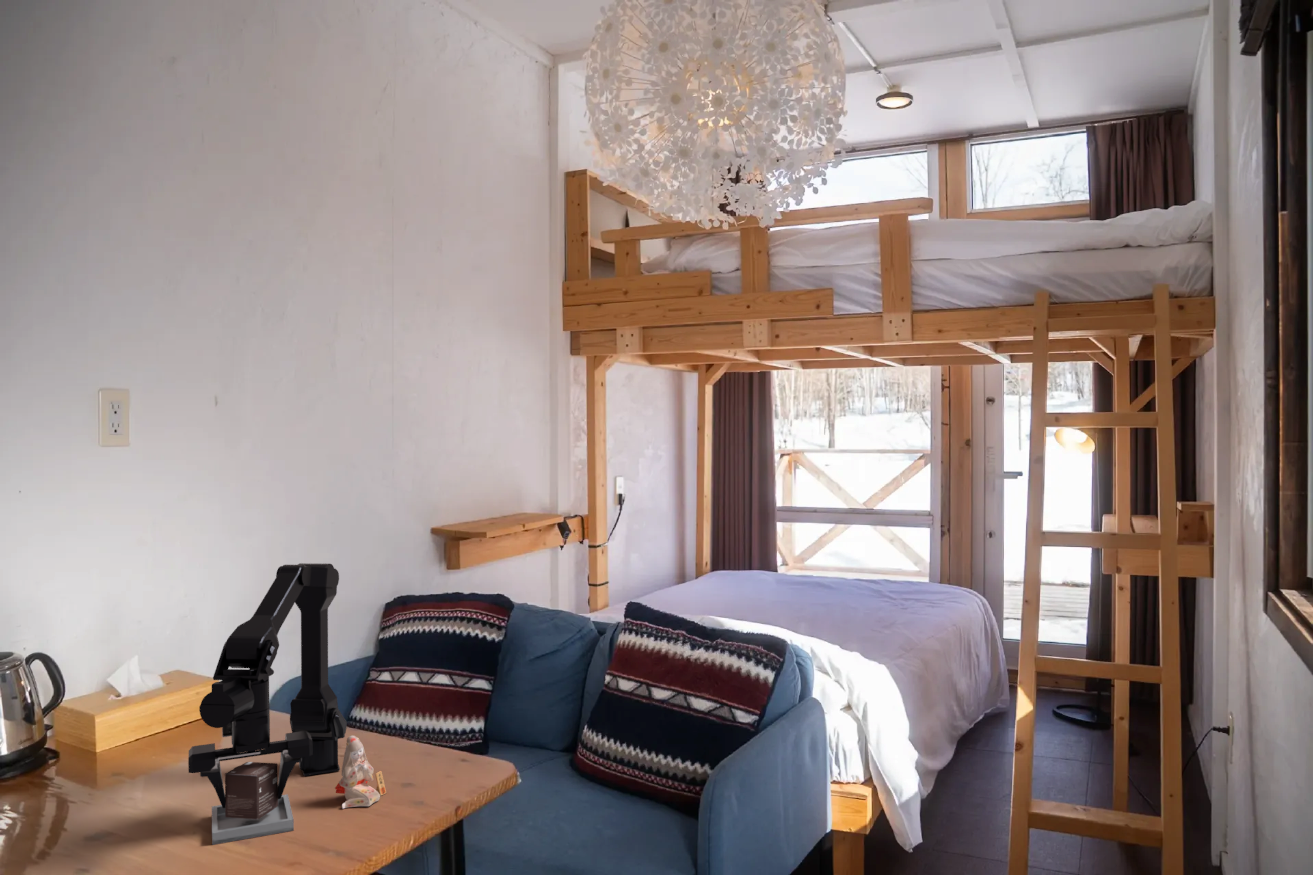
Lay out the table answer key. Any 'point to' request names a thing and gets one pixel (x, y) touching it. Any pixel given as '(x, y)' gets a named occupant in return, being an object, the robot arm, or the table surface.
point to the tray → (251, 823)
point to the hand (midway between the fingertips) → (252, 802)
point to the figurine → (358, 777)
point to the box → (251, 790)
